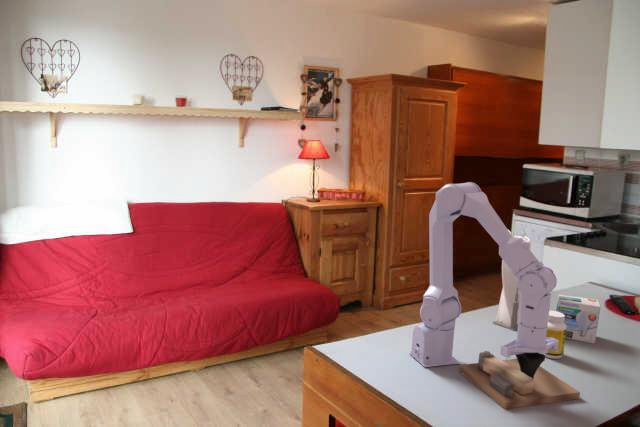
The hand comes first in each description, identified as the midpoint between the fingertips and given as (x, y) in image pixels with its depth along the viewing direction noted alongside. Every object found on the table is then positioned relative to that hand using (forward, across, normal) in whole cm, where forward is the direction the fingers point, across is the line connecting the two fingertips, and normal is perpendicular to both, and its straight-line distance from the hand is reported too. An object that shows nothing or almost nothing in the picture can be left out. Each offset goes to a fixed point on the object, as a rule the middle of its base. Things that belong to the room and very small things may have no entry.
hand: (525, 383), depth 111 cm
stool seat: (+2, +1, +4) cm, 5 cm away
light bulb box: (+3, +39, +21) cm, 44 cm away
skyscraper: (+3, +27, +34) cm, 44 cm away
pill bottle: (+3, +22, +14) cm, 26 cm away
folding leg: (+1, -2, +4) cm, 5 cm away
